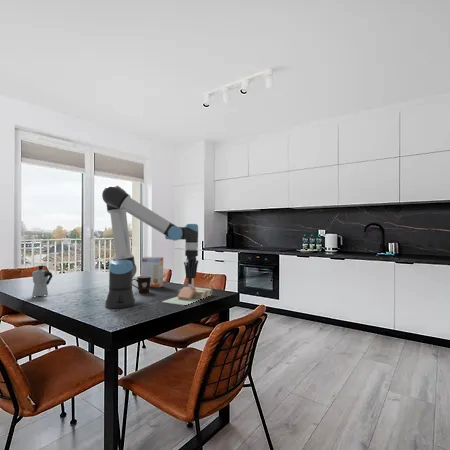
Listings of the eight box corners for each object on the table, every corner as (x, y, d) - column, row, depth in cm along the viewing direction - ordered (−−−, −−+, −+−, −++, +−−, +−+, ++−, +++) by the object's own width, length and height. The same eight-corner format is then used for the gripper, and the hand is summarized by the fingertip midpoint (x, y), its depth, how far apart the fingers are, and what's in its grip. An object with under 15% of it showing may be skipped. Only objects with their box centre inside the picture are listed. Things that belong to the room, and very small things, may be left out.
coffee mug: (152, 291, 197) (152, 275, 197) (148, 294, 188) (148, 277, 188) (135, 290, 198) (135, 275, 198) (130, 293, 189) (130, 277, 189)
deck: (200, 299, 174) (200, 292, 174) (177, 296, 181) (177, 290, 181) (212, 295, 186) (212, 288, 186) (190, 292, 193) (190, 286, 193)
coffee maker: (25, 296, 177) (25, 265, 177) (38, 293, 185) (39, 264, 186) (44, 298, 173) (45, 267, 173) (57, 295, 181) (58, 265, 181)
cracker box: (163, 286, 214) (163, 257, 214) (159, 287, 208) (159, 257, 209) (145, 285, 218) (146, 256, 218) (141, 286, 212) (141, 257, 212)
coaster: (190, 300, 170) (189, 297, 170) (178, 298, 174) (177, 296, 173) (196, 290, 177) (195, 287, 176) (184, 289, 180) (183, 286, 179)
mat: (185, 305, 160) (185, 305, 160) (161, 302, 167) (161, 301, 167) (200, 300, 173) (200, 299, 173) (177, 297, 180) (177, 296, 180)
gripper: (191, 250, 172) (190, 291, 172) (202, 249, 184) (201, 288, 183) (180, 249, 175) (179, 290, 175) (192, 248, 187) (191, 286, 187)
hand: (190, 289), depth 179 cm, fingers closed
